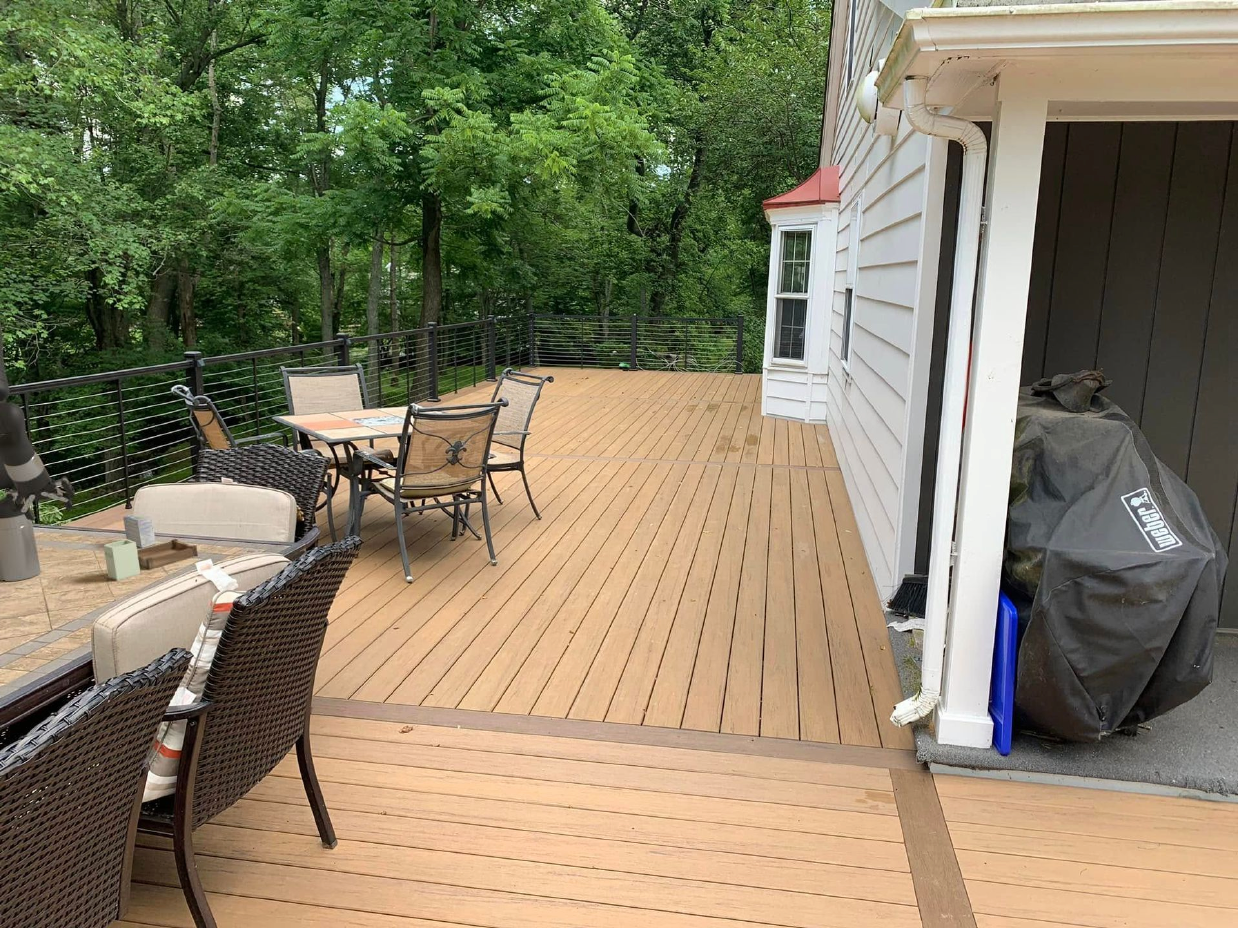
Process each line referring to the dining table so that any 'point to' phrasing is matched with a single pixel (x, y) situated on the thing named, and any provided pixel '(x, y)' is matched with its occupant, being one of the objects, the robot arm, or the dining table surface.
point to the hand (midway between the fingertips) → (51, 513)
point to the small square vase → (122, 559)
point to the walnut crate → (165, 554)
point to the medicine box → (139, 529)
